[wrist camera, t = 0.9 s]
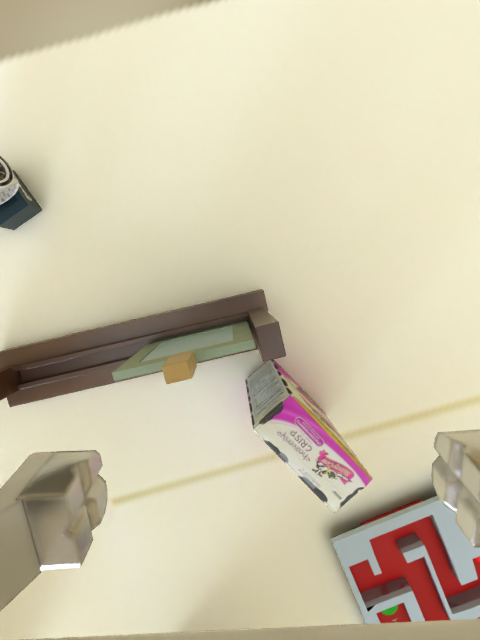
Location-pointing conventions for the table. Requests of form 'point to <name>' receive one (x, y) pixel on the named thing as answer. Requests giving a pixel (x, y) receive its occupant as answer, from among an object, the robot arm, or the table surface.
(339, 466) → the candy bar box
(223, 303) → the window frame
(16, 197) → the watch
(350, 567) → the maze game
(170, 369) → the window pane
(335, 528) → the table surface
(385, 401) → the table surface
